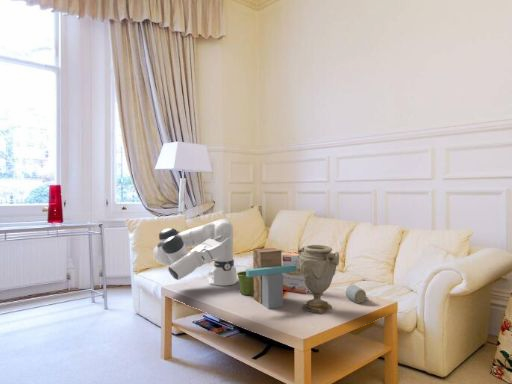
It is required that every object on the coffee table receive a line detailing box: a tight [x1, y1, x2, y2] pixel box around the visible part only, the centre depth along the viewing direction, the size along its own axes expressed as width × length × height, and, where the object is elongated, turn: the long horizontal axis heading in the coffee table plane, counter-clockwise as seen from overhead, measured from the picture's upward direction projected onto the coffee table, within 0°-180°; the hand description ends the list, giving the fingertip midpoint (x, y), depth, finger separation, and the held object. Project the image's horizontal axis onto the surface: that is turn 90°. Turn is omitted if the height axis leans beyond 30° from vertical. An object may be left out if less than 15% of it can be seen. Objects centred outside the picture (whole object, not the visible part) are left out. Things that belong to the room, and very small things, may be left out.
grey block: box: [261, 273, 284, 310], centre depth 182 cm, size 7×8×16 cm
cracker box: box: [282, 252, 310, 294], centre depth 206 cm, size 14×6×21 cm, turn 62°
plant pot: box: [236, 270, 254, 296], centre depth 203 cm, size 12×12×11 cm
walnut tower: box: [252, 247, 283, 305], centre depth 191 cm, size 9×12×26 cm
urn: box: [297, 244, 340, 315], centre depth 175 cm, size 24×18×30 cm
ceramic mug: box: [345, 284, 369, 304], centre depth 187 cm, size 11×8×8 cm
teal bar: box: [245, 265, 296, 277], centre depth 181 cm, size 3×26×3 cm, turn 114°
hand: (225, 238), depth 177 cm, fingers open, 8 cm apart
